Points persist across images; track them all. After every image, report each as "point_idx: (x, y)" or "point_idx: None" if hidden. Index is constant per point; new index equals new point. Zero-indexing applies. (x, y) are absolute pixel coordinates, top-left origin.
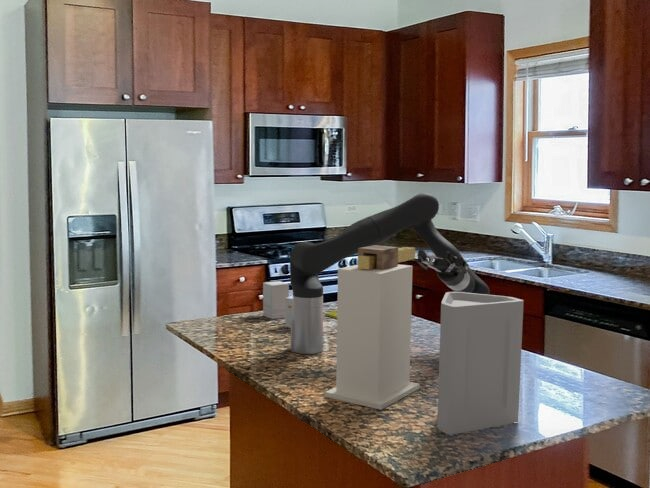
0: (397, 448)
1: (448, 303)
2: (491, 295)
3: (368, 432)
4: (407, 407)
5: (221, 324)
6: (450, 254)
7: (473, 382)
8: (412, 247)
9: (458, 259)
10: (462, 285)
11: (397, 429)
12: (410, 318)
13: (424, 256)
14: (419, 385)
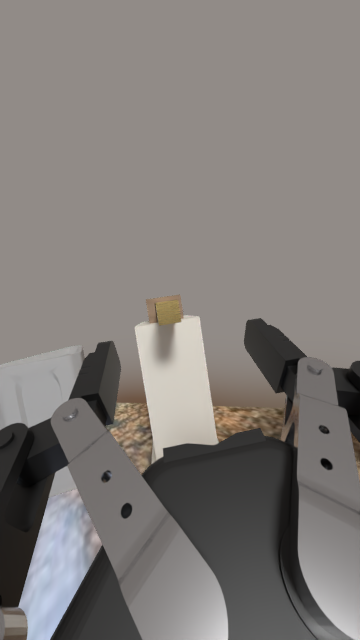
0: (116, 412)
1: (75, 346)
2: (23, 363)
3: (141, 412)
4: (136, 451)
5: None
6: (92, 356)
7: None
8: (161, 302)
9: (42, 425)
10: None
11: (126, 423)
12: (146, 398)
13: (269, 364)
14: None
